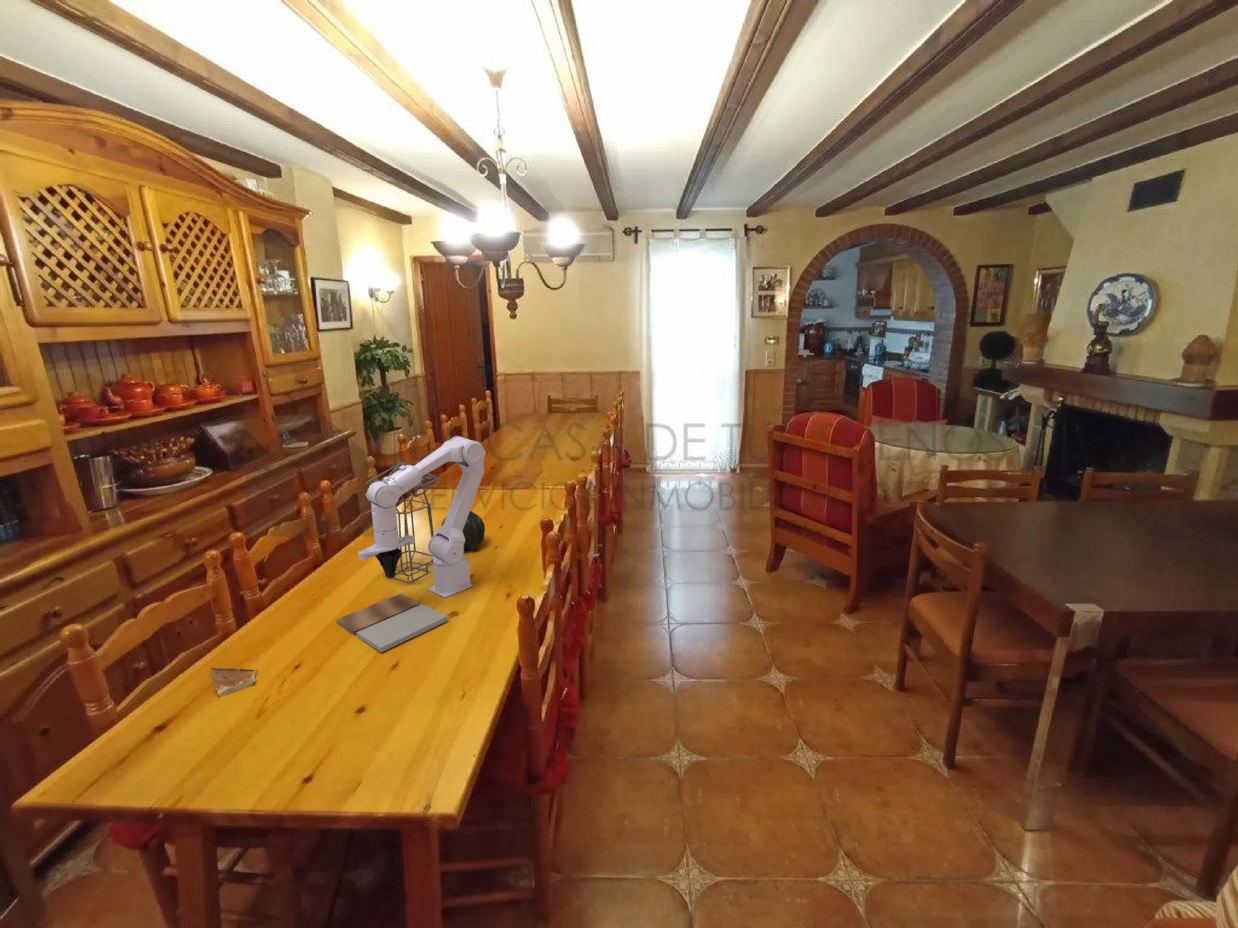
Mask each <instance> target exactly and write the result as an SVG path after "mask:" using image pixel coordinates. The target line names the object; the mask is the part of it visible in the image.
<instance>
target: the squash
mask: <svg viewBox="0 0 1238 928" xmlns="http://www.w3.org/2000/svg"><path fill="white" fill-rule="evenodd" d="M446 517H447V515H446V516H445V518H444V520H443V521H442V522H441V526H442V525H444V522H445V519H446ZM441 526H440V527H441ZM485 532H486V526H485V522H484V521H483V519H482V517H481V516H479V515H478V514H476V513H475V512H473V511H472V510H470V512H469V515H468V517H467V520H466V523H465V525H464V528H463V534H464V537H465V543H464V552H465V551H466V550H470V551H471V550H474V549H475V548H477V545H479V544H481V543H482V542H483V541H484V537H485Z"/></svg>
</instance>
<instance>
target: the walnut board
mask: <svg viewBox="0 0 1238 928" xmlns="http://www.w3.org/2000/svg"><path fill="white" fill-rule="evenodd" d="M419 605H421V603H420V602H419V601H416V600H415V599H413V598H411V597H409V596H407V595H406V594H404V593H398V594H396V595H393V596H391V597H388V598H386V599H383V600H380V601H378V602H376V603H374V604H371V605H369V606H366V607H363V608H360V609H358V610H357V611H354V612H351V613H349V614H346V615H344V616H341V617H339V618H337V619H335V621H336V622H335V623H336V624H337V625H338V626H340V627H341V628H343V629H344V630H346V631H347V632H348V633H350V634H351V635H353V636H356V637H357V634H356V632H359V631H361V630H363V629H366V628H368V627H370V626H373V625H375V624H377V623H380V622H382V621H384V620H387V619H389V618H391V617H393V616H396V615H398V614H400V613H403V612H405V611H407V610H410V609H412V608H414V607H417V606H419Z"/></svg>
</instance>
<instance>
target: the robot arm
mask: <svg viewBox="0 0 1238 928" xmlns="http://www.w3.org/2000/svg"><path fill="white" fill-rule="evenodd" d="M486 454H487V452H486V450H485V447H484V446H483V445H482V443H481V442H480V441H477V440H471V439H469V438H465V437H463V436H460V435H455V436H453V437H451V438H450V439H449V440H447V441H446V440H445V441H444V442H443V444H442V445H441V446H440V447H439V448H437V449H436V450H435V451H433V452H431V453H430V454H428V455H427V456H425V458H423V459H422V460H420V461H419V462H417V463H416V464H415V465H413V466H411V465H412V464H411V465H406V466H403V465H402V466H400V467H399V470H398V471H397V472H395V473H394V472H393V473H394V474H393V473H392V475H390V476H389V477H387V476H385V477H383V478H382V480H383V481H380V482H379V481H377V482H373V484H371V485H370V486H369V485H368V486H369V487H368V488H367V491H366V493H365V496H366V499H367V501H369V502H370V505H371V518H372V527H373V538H374V539H373V540H374V544H372V545H370V546H368V547H366V548H363V550H359V551H357V556H358V559H359V560H360V561H363V562H364V561H366V560H367V559H369V558H371V557H375V558H376V559H377V560H378V562H379V565H380V564H381V565H380V566H381V567H382V570H383V573H384V575H385V577H386V578H387V579H391V578H395V576H396V575H395V572H397V571H396V569H397V568H396V567H397V566H398V563H399V561H400V557H401V555H402V556H403V554H402V552H403V550H402V551H401V550H400V547H402V548H403V547H405V545H407V546H408V544H410V545H414V543H415V544H416V539H415V540H414V537H413V535H411V534H409V536H407V535H406V536H405V535H404V536H401V537H399V525H398V514H396V512H397V511H396V507H397V506H396V505H397V502H398V501H400V500H399V499H400V497H401V496H403V495H404V494H406V493H407V491H411V490H412V489H413V487H415V486H418V484H420V483H421V479H422V478H423V477H422V476H424V477H425V474H427V473H430V472H432V471H434V470H436V469H437V468H439V467H441V466H443V465H444V464H446V463H448V462H449V463H457V464H458V466H459V468H460V470H461V471H462V473H461V478H460V480H459V482H458V484H457V487H456V490H455V493H454V495H453V498H452V501H451V504H450V506H449V509H448V512H447V515H446V516H447V517H446V516H445V518H446V519H445V518H444V519H445V522H444V525H442V524H441V525H442V526H439V527H437V528H436V530H435V532H434V536H433V537H432V538H431V537H430V539H429V541H428V542H427V549H428V551H429V554H430V555H433V557H432V559H433V564H432V567H433V581H434V585H432V586H430V587H429V588H428V590H429V591H430V592H432V593H434V594H437V595H439V596H440V597H442V598H444V599H446V598H448V597H451V596H453V595H455V594H457V593H459V592H462V591H464V590H466V589H469V588H471V587H473V584H472V583H471V573H470V572H471V571H470V568H471V567H470V563H469V560H468V559H467V558H466V556H464V553H465V551H464V543H465V537H464V534H463V528H464V525H465V523H466V520H467V517H468V515H469V512H470V511H471V509H472V506H473V504H474V501H475V498H476V495H477V493H478V489H479V488H480V485H481V481H482V479H483V477H484V474H485V458H486ZM398 503H399V502H398Z"/></svg>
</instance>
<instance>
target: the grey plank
mask: <svg viewBox="0 0 1238 928" xmlns="http://www.w3.org/2000/svg"><path fill="white" fill-rule="evenodd" d="M446 622H448V616H447V615H445V614H443V613H441V612H439V611H437V610H435V609H433V608H431V607H429V606H427V605H424V604H423V603H422V604H421V603H420V605H419V606H417V607H414V608H412V609H410V610H407V611H405V612H403V613H400V614H398V615H396V616H393V617H391V618H389V619H387V620H384V621H382V622H380V623H377V624H375V625H373V626H370V627H368V628H366V629H363V630H361V631H359V632H356V634H357V635H356V638H357V639H359V640H361V641H362V642H365V644H367V645H368V646H370V647H372V648H374V649H375V650H377V651H378V652H379V653H383V652H385V651H387V650H389V649H392V648H393V647H396V646H398V645H400V644H402V643H404V642H407V641H408V640H410V639H412V638H414V637H417V636H419V635H421V634H423V633H425V632H427V631H429V630H431V629H433V628H436V627H438V626H439V625H443V624H444V623H446Z"/></svg>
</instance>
